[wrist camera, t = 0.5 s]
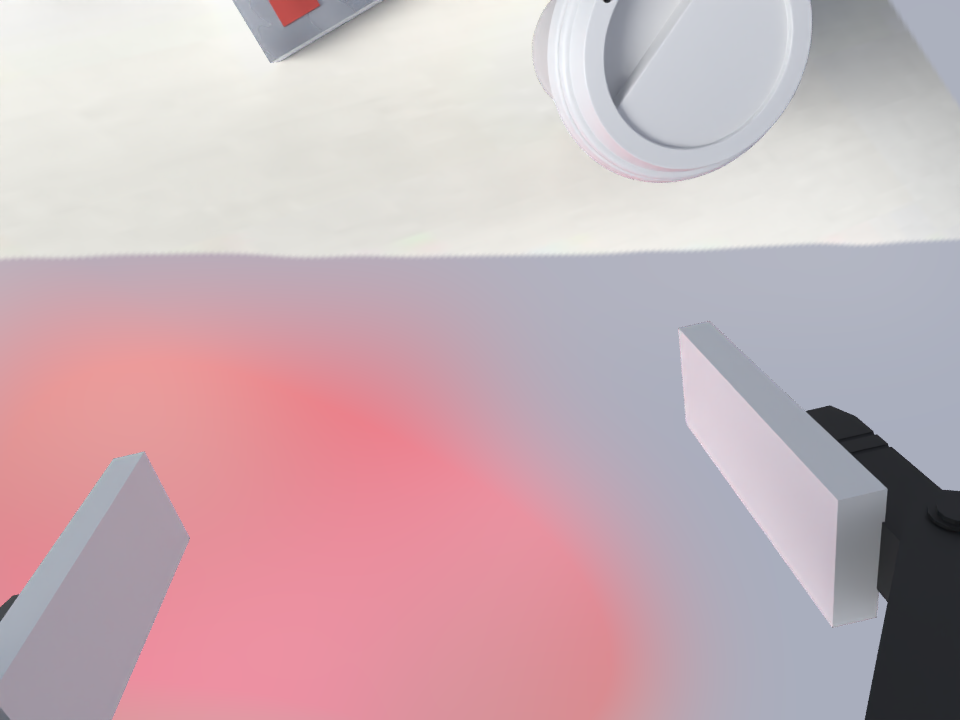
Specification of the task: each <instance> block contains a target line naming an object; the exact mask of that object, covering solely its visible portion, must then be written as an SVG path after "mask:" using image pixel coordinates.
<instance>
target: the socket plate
mask: <svg viewBox="0 0 960 720" xmlns="http://www.w3.org/2000/svg"><path fill="white" fill-rule="evenodd" d="M381 1H383V0H233V2H234V4H235V5H236V7H237V8H238V10H239V12H240V13H241V15H242V17H243V18H244V20H245V22H246V23H247V25H248V27H249V28H250V30H251V32H252V33H253V35H254V37H255V38H256V40H257V42H258V43H259V45H260V47H261V48H262V50H263V52H264V53H265V55H266V57H267V58H268V60H269V62H270V63H274V62H280V61H282V60H283V59H285V58H287V57H288V56H290V55H292V54H293V53H295V52H297V51H299V50H300V49H302V48H304V47H305V46H307V45H309V44H310V43H312V42H314V41H315V40H317V39H319V38H320V37H322V36H324V35H326V34H327V33H329V32H331V31H332V30H334V29H336V28H337V27H339V26H341V25H342V24H344V23H346V22H348V21H349V20H351V19H353V18H354V17H356V16H358V15H359V14H361V13H363V12H364V11H366V10H368V9H370V8H371V7H373V6H375V5H376V4H378V3H380V2H381Z"/></svg>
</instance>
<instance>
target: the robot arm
mask: <svg viewBox="0 0 960 720" xmlns="http://www.w3.org/2000/svg"><path fill="white" fill-rule="evenodd" d="M678 330H679V342H680V354H681V367H682V378H683V392H684V404H685V417H686V424H687V426H688V427H689V428H690V430H691V431H692V433H693V434H694V435H695V437H696V438H697V440H698V441H699V442H700V444H701V445H702V447H703V448H704V449H705V451H706V452H707V454H708V455H709V456H710V458H711V459H712V460H713V462H714V463H715V465H716V466H717V468H718V469H719V470H720V472H721V473H722V474H723V476H724V477H725V479H726V480H727V481H728V483H729V484H730V486H731V487H732V488H733V490H734V491H735V492H736V494H737V495H738V497H739V498H740V500H741V501H742V502H743V504H744V505H745V507H746V508H747V509H748V511H749V512H750V513H751V515H752V516H753V518H754V519H755V520H756V522H757V523H758V525H759V526H760V527H761V529H762V530H763V532H764V533H765V534H766V536H767V537H768V539H769V540H770V541H771V543H772V544H773V546H774V547H775V548H776V550H777V551H778V552H779V554H780V555H781V557H782V558H783V559H784V561H785V562H786V564H787V565H788V566H789V568H790V569H791V571H792V572H793V573H794V575H795V576H796V578H797V579H798V580H799V582H800V583H801V585H802V586H803V587H804V589H805V590H806V591H807V593H808V594H809V596H810V597H811V598H812V600H813V601H814V603H815V604H816V605H817V607H818V608H819V610H820V611H821V612H822V614H823V615H824V616H825V618H826V619H827V621H828V622H829V623H830V625H831V626H832V627H837V626H842V625H846V624H850V623H855V622H859V621H863V620H868V619H872V618H876V617H877V608H878V596H879V592H880V593H881V595H882V596H883V597H884V598H885V599H886V601H887V602H888V604H887V609H886V614H885V619H884V624H883V629H882V634H881V640H880V645H879V650H878V655H877V660H876V665H875V670H874V675H873V680H872V685H871V691H870V695H869V701H868V706H867V711H866V716H865V720H960V491H951V490H942V489H940V488H939V487H938V486H937V485H936V484H935V483H933V482H932V481H931V480H930V479H929V478H928V477H926V476H925V475H924V474H923V473H922V472H920V471H919V470H918V469H917V468H916V467H915V466H913V465H912V464H911V463H910V462H909V461H908V460H906V459H905V458H904V457H903V456H902V455H900V454H899V453H898V452H897V451H896V450H895V449H893V448H892V447H889V446H888V443H886V442H885V441H884V440H883V439H882V438H881V437H879V436H878V435H874V433H873V431H872V430H871V429H870V428H869V427H868V426H866V425H865V424H864V423H863V422H862V421H860V420H859V419H858V418H857V417H855V416H854V415H851V414H849V413H847V412H844V411H842V410H839V409H837V408H835V407H832V406H826V407H821V408H817V409H813V410H808V411H805V410H804V409H802V408H801V407H800V406H799V405H798V404H797V403H796V402H795V401H794V400H793V399H792V398H791V397H790V396H789V395H788V394H786V392H784V391H783V390H782V389H781V388H780V387H779V386H778V385H777V384H776V383H775V382H774V381H773V380H772V379H771V378H770V377H769V376H768V375H766V374H765V373H764V372H763V371H762V370H761V369H760V368H759V367H758V366H757V365H756V364H755V363H754V362H753V361H752V360H751V359H749V358H748V357H747V356H746V355H745V354H744V353H743V352H742V351H741V350H740V349H739V348H738V347H737V346H736V345H735V344H734V343H733V342H731V341H730V340H729V339H728V338H727V337H726V336H725V335H724V334H723V333H722V332H721V331H720V330H719V329H718V328H716V326H715V325H713V324H712V323H711V322H710V321H707V322H703V323H698V324H694V325H689V326H685V327H681V328H678ZM189 539H190V537H189V535H188V533H187V532H186V530H185V528H184V526H183V524H182V522H181V520H180V518H179V516H178V514H177V513H176V511H175V509H174V507H173V505H172V503H171V501H170V499H169V497H168V495H167V494H166V492H165V490H164V488H163V486H162V484H161V482H160V480H159V478H158V476H157V474H156V472H155V471H154V469H153V467H152V465H151V463H150V461H149V459H148V457H147V455H146V453H145V452H140V453H136V454H132V455H127V456H123V457H118V458H114V459H113V460H112V461H111V463H110V464H109V466H108V467H107V469H106V470H105V472H104V473H103V474H102V476H101V477H100V479H99V480H98V482H97V483H96V485H95V486H94V487H93V489H92V490H91V492H90V493H89V495H88V496H87V498H86V499H85V501H84V502H83V503H82V505H81V506H80V508H79V509H78V511H77V512H76V513H75V515H74V516H73V518H72V519H71V521H70V522H69V524H68V525H67V527H66V528H65V530H64V531H63V532H62V534H61V535H60V537H59V538H58V539H57V541H56V542H55V544H54V545H53V547H52V548H51V550H50V551H49V553H48V554H47V555H46V557H45V558H44V560H43V561H42V563H41V564H40V566H39V567H38V568H37V570H36V571H35V573H34V574H33V576H32V577H31V578H30V580H29V581H28V583H27V584H26V586H25V587H24V589H23V590H22V591H21V593H20V594H18V595H14V596H12V597H11V598H10V599H9V600H8V601H7V602H6V603H4V604H3V605H2V606H1V607H0V720H112V718H113V715H114V713H115V711H116V709H117V706H118V704H119V702H120V699H121V697H122V695H123V692H124V690H125V688H126V685H127V683H128V681H129V678H130V676H131V674H132V672H133V669H134V667H135V664H136V662H137V660H138V658H139V655H140V652H141V651H142V648H143V646H144V644H145V641H146V639H147V637H148V634H149V632H150V630H151V627H152V625H153V623H154V620H155V618H156V616H157V613H158V611H159V609H160V606H161V604H162V602H163V600H164V597H165V595H166V593H167V590H168V588H169V586H170V583H171V581H172V579H173V576H174V574H175V572H176V569H177V567H178V565H179V563H180V560H181V558H182V555H183V553H184V551H185V549H186V546H187V544H188V542H189Z"/></svg>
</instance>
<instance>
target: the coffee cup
mask: <svg viewBox="0 0 960 720" xmlns="http://www.w3.org/2000/svg"><path fill="white" fill-rule="evenodd" d="M811 38H812V7H811V0H551V1H550V2H549V3H548V5H547V6H546V7H545V9H544V10H543V12H542V14H541V16H540V18H539V20H538V22H537V25H536V28H535V31H534V36H533V42H532V58H533V65H534V69H535V72H536V75H537V78H538V80H539V82H540V84H541V85H542V87H543V89H544V90H545V91H546V93H547V94H548V95H549V96H550V97H551V98H552V99H553V100H554V102H555V105H556V108H557V110H558V113H559V115H560V117H561V119H562V121H563V123H564V125H565V127H566V129H567V130H568V132H569V133H570V135H571V136H572V138H573V139H574V140H575V142H576V143H577V144H578V145H579V146H580V148H581V149H582V150H583V151H584V152H585V153H586V154H587V155H588V156H590V157H591V158H592V159H593V160H594V161H596V162H597V163H598V164H600V165H601V166H603V167H605V168H606V169H608V170H610V171H612V172H614V173H616V174H618V175H621V176H624V177H627V178H630V179H633V180H638V181H644V182H653V183H666V182H676V181H682V180H687V179H692V178H695V177H699V176H702V175H705V174H708V173H710V172H713V171H715V170H717V169H719V168H721V167H723V166H725V165H727V164H728V163H730V162H732V161H733V160H735V159H736V158H738V157H739V156H740V155H742V154H743V153H745V152H746V151H747V150H748V149H750V148H751V147H752V146H753V145H754V144H755V143H756V142H758V141H759V140H760V139H761V138H762V137H763V136H764V135H765V133H766V132H767V131H768V130H769V129H770V128H771V127H772V125H773V124H774V123H775V122H776V121H777V120H778V118H779V117H780V116H781V114H782V113H783V112H784V110H785V109H786V107H787V106H788V104H789V102H790V101H791V99H792V97H793V95H794V94H795V92H796V90H797V87H798V85H799V83H800V81H801V78H802V76H803V73H804V70H805V67H806V63H807V60H808V56H809V51H810V45H811Z"/></svg>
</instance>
